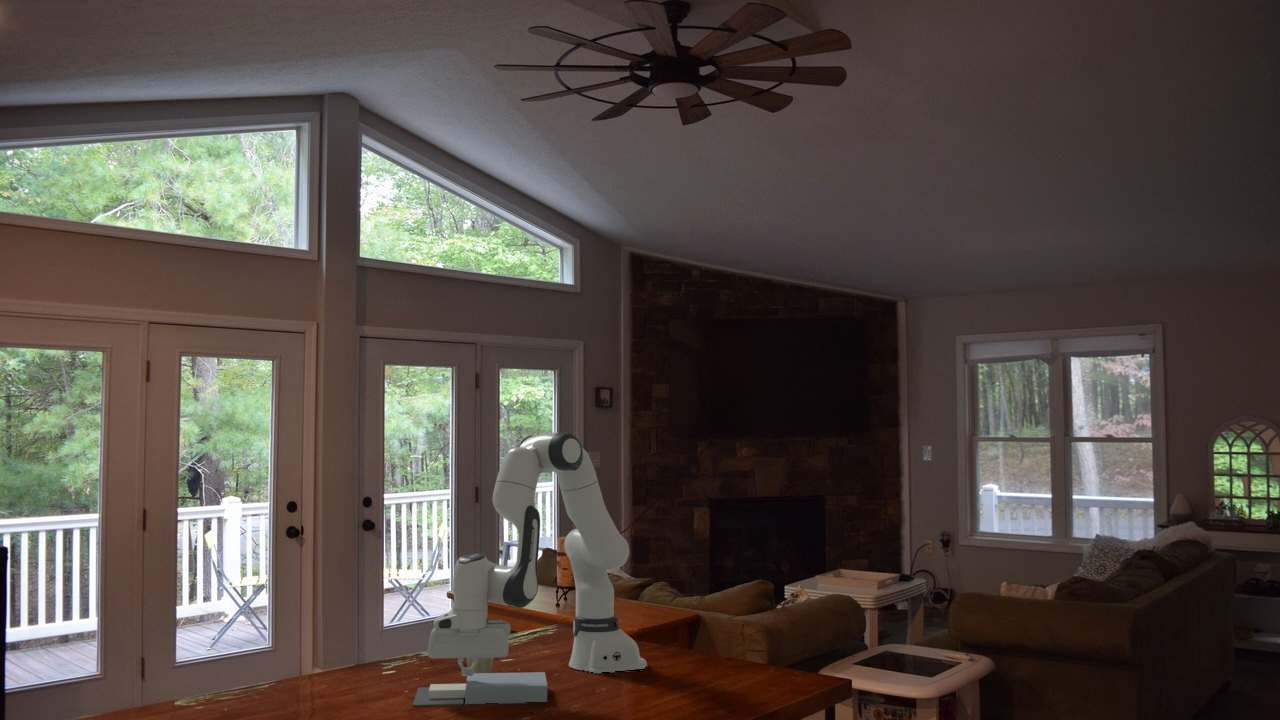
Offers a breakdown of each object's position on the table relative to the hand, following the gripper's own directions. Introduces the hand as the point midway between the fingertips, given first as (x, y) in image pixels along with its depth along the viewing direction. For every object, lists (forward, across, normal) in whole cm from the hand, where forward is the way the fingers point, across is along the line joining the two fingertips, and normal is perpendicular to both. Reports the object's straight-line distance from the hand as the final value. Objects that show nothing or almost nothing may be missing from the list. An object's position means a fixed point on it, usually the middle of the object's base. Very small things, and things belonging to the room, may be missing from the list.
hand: (467, 675), depth 244 cm
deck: (+5, -10, 0) cm, 11 cm away
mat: (+5, +7, 0) cm, 9 cm away
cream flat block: (+5, +5, 0) cm, 7 cm away
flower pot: (+5, -3, -20) cm, 21 cm away
